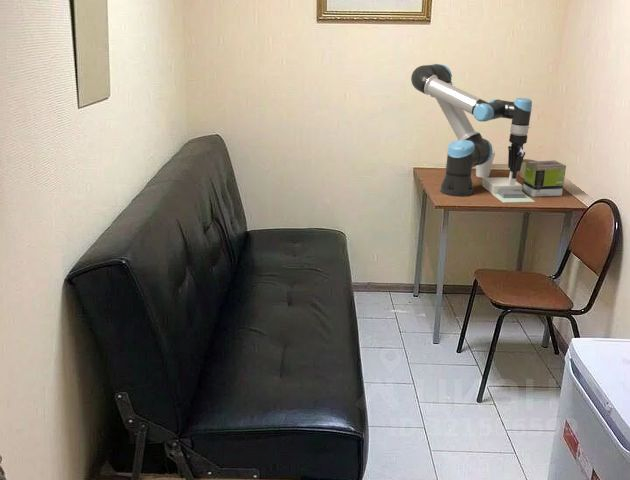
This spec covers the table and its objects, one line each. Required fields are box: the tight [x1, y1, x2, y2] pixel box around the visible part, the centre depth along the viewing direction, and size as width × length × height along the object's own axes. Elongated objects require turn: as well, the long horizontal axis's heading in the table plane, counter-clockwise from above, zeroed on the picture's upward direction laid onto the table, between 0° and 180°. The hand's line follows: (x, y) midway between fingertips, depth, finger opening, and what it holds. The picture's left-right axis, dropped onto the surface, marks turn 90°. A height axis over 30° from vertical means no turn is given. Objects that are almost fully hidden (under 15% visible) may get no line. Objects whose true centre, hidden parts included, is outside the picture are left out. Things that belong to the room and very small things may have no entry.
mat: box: [492, 194, 536, 204], centre depth 290 cm, size 15×12×1 cm
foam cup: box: [475, 150, 496, 179], centre depth 323 cm, size 10×9×13 cm
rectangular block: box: [498, 189, 526, 198], centre depth 292 cm, size 10×7×2 cm
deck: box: [481, 176, 524, 195], centre depth 302 cm, size 14×14×4 cm
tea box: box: [522, 160, 567, 198], centre depth 296 cm, size 15×10×15 cm, turn 100°
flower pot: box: [519, 158, 537, 180], centre depth 323 cm, size 9×9×9 cm
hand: (511, 184), depth 292 cm, fingers closed
